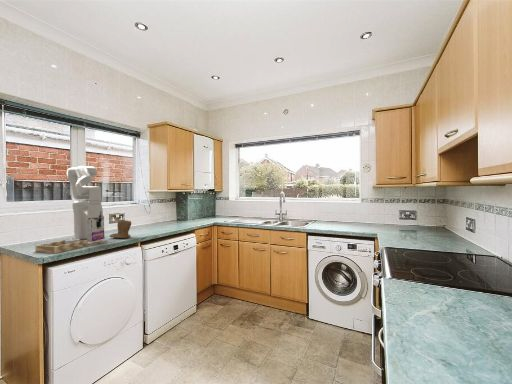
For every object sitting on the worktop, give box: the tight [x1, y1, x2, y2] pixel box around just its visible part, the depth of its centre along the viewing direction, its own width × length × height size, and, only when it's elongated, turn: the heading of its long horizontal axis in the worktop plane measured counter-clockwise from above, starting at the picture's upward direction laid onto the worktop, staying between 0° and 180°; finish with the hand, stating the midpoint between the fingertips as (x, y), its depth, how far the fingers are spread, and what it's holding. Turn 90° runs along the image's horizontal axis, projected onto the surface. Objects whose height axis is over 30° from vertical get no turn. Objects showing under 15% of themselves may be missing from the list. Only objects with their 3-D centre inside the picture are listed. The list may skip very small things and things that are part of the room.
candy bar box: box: [86, 217, 105, 242], centre depth 182 cm, size 11×5×16 cm, turn 168°
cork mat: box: [88, 239, 108, 246], centre depth 182 cm, size 14×7×1 cm, turn 166°
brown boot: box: [108, 219, 132, 239], centre depth 203 cm, size 15×12×15 cm
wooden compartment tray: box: [34, 238, 89, 254], centre depth 166 cm, size 22×17×4 cm
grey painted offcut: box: [65, 239, 81, 244], centre depth 172 cm, size 3×8×2 cm, turn 137°
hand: (95, 226), depth 182 cm, fingers closed on candy bar box, 5 cm apart
